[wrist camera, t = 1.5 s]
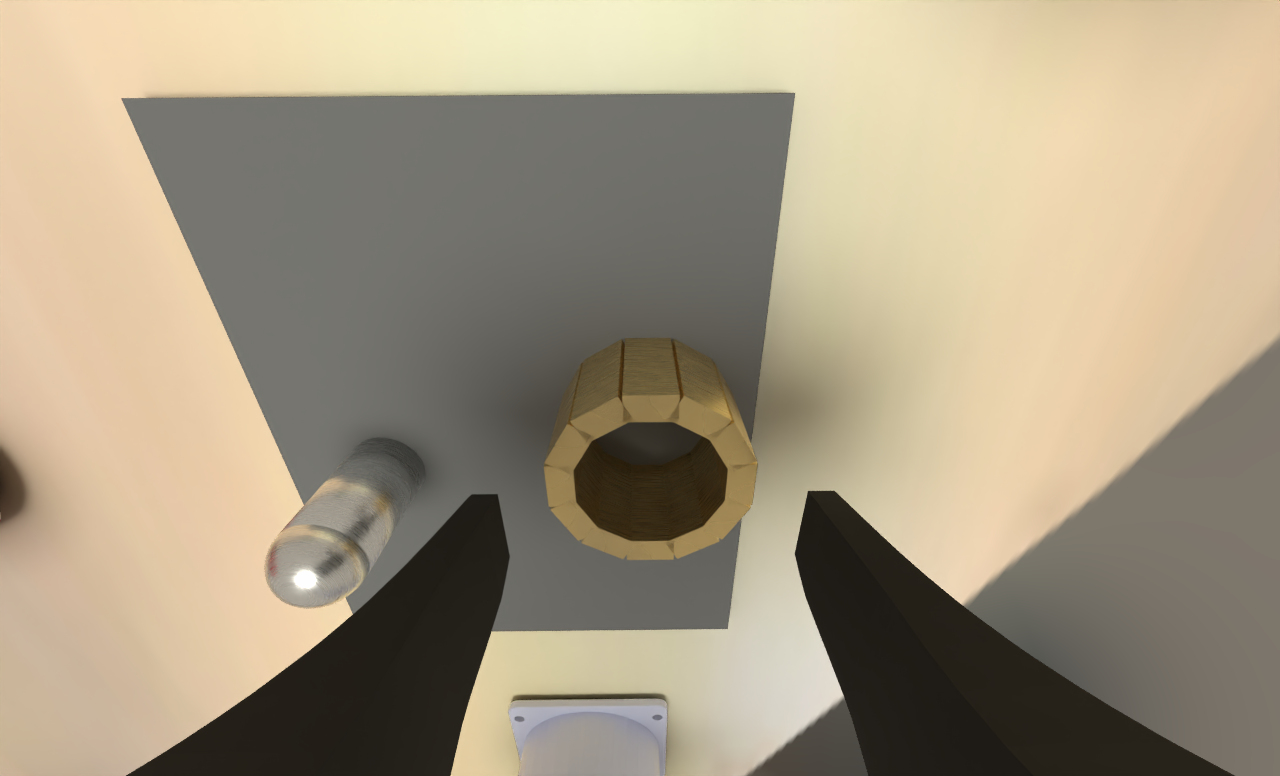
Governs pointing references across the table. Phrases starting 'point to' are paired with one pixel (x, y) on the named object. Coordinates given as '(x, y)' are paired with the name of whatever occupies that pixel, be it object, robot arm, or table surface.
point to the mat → (483, 296)
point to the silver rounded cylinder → (344, 525)
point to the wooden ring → (649, 494)
